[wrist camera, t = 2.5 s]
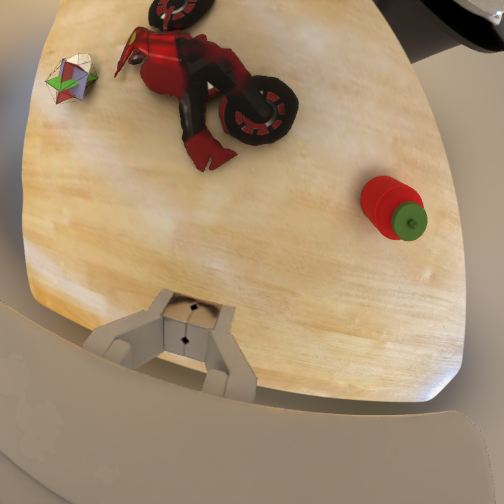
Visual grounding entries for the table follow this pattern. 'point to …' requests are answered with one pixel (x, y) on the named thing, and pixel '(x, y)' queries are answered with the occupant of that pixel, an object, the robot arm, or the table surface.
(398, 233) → the red green-capped container
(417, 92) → the table surface
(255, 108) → the toy motorcycle
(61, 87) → the geometric puzzle
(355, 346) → the table surface
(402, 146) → the table surface
